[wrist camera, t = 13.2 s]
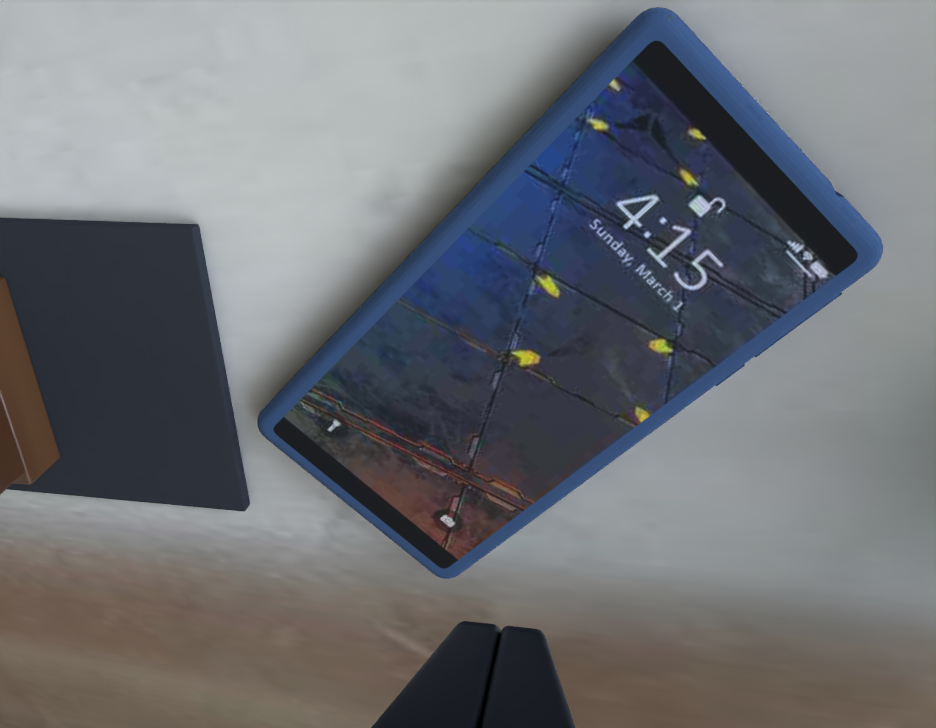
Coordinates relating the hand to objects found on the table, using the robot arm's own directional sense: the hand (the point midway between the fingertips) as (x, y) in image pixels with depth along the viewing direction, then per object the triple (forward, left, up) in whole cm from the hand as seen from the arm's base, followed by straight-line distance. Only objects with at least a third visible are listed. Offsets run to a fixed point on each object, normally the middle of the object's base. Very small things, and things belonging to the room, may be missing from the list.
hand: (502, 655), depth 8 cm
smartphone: (-1, +3, -13) cm, 13 cm away
